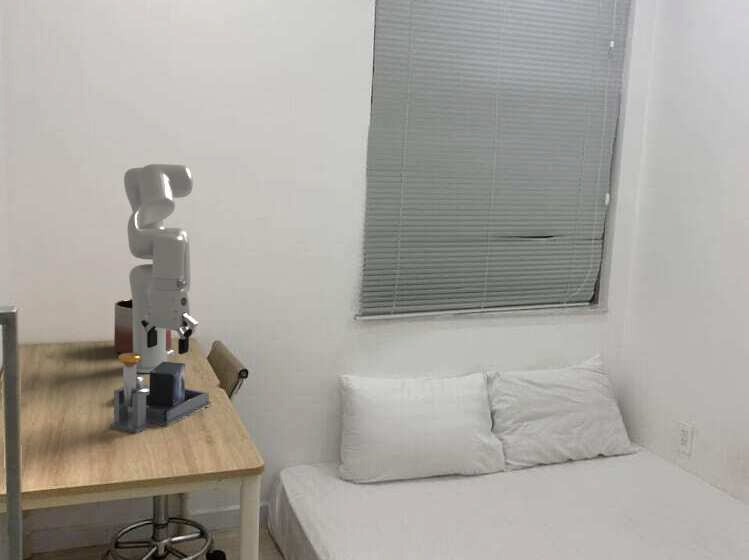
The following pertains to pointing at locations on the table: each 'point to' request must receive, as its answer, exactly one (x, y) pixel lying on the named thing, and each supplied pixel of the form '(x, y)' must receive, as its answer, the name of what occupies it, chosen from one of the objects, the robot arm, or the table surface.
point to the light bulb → (129, 376)
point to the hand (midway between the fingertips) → (167, 349)
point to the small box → (167, 385)
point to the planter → (128, 328)
